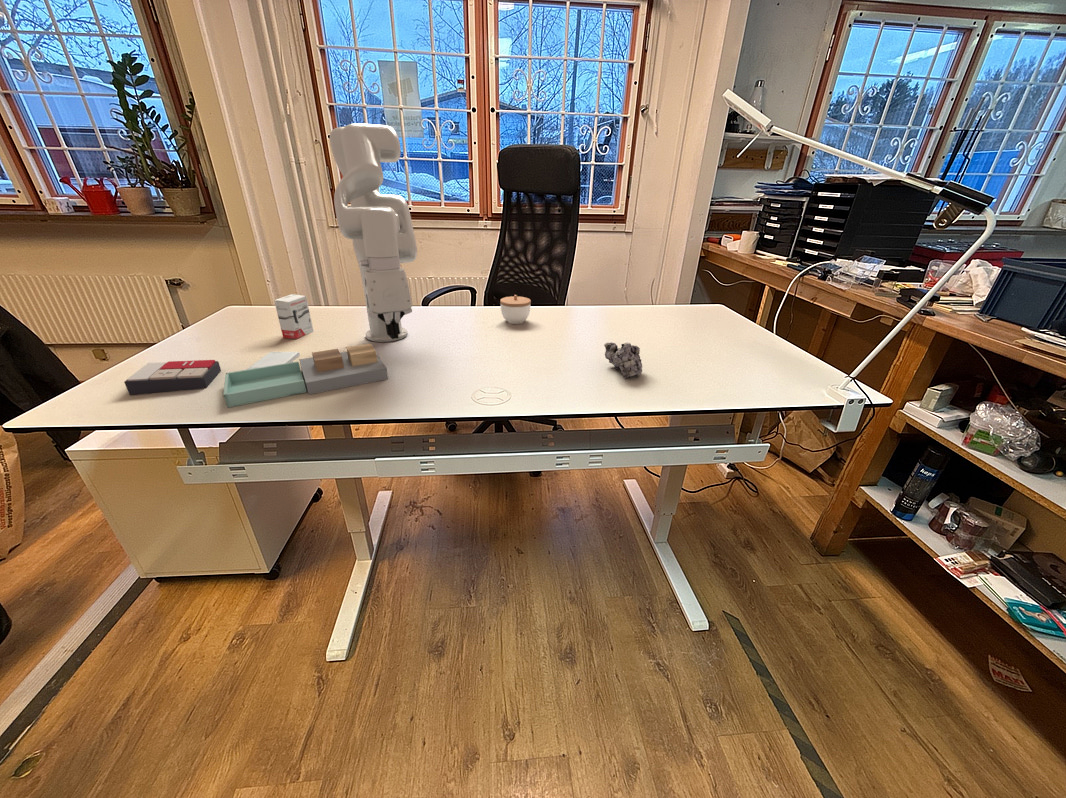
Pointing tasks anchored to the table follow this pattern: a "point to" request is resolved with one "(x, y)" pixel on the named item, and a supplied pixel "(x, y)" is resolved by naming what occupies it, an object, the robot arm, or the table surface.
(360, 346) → the tile oak
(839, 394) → the table surface
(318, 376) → the board
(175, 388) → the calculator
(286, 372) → the tray
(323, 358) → the tile walnut
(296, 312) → the ink box
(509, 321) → the lidded jar
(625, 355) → the mineral specimen
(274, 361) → the hard drive
